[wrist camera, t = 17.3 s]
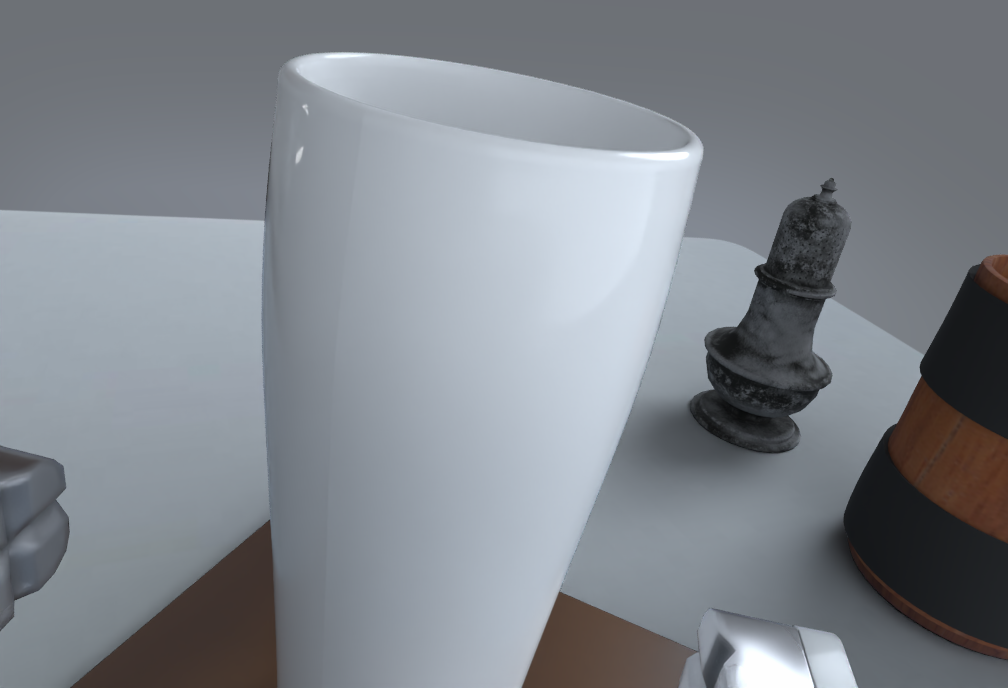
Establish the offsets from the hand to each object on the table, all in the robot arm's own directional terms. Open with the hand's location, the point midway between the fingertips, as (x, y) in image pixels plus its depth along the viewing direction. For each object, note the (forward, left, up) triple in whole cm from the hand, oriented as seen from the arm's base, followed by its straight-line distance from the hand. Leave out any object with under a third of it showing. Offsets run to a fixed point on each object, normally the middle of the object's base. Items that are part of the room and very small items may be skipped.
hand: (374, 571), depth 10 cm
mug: (+14, +23, -11) cm, 29 cm away
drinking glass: (-1, +5, -10) cm, 11 cm away
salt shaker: (+4, +29, -11) cm, 31 cm away
